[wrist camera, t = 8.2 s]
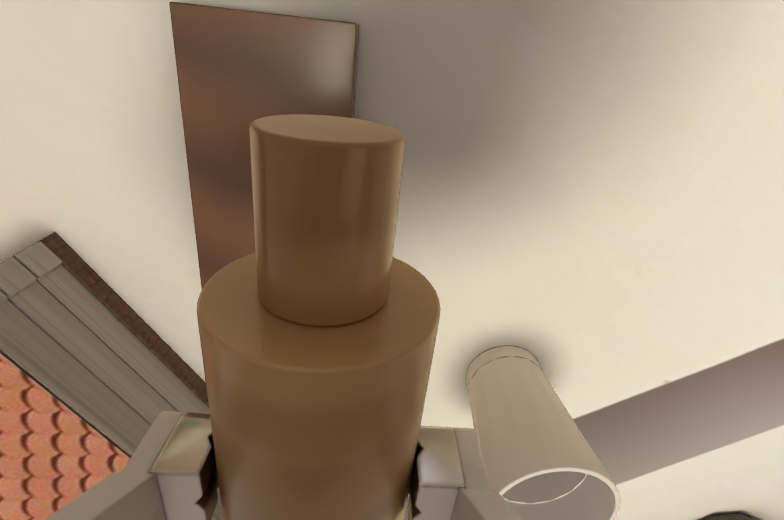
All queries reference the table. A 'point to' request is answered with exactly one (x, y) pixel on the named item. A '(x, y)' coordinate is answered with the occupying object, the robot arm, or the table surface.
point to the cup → (534, 442)
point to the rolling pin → (318, 331)
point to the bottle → (729, 517)
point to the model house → (76, 381)
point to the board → (248, 105)
